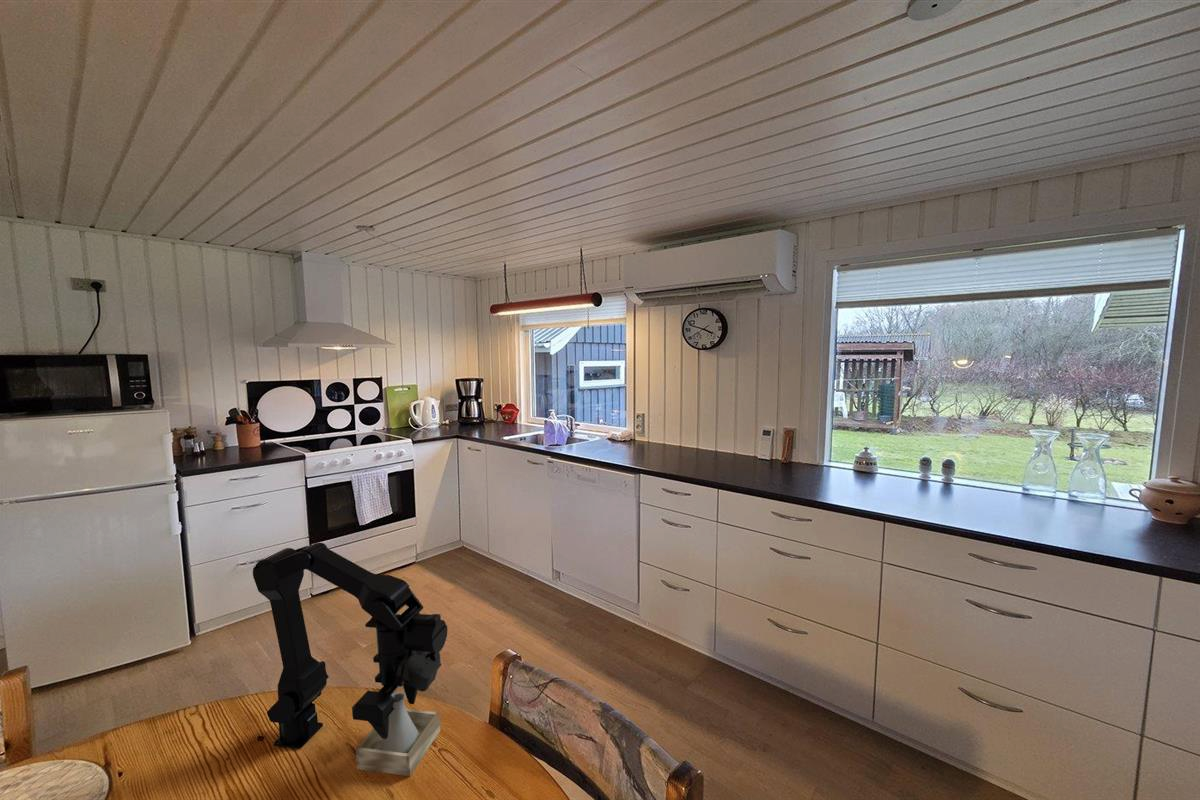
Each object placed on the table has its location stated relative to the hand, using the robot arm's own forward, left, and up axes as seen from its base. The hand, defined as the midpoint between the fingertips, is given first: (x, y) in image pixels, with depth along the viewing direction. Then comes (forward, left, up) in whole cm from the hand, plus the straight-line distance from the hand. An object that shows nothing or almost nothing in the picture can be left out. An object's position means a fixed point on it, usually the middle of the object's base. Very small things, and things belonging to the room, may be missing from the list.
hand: (398, 720), depth 96 cm
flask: (0, 0, -5) cm, 5 cm away
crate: (0, 0, -6) cm, 6 cm away
